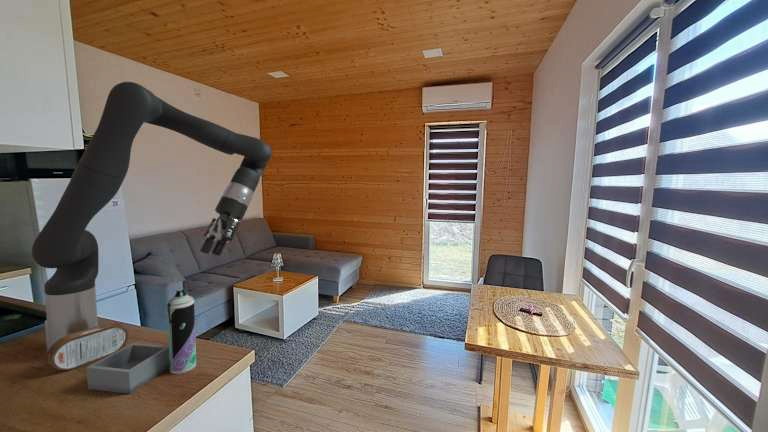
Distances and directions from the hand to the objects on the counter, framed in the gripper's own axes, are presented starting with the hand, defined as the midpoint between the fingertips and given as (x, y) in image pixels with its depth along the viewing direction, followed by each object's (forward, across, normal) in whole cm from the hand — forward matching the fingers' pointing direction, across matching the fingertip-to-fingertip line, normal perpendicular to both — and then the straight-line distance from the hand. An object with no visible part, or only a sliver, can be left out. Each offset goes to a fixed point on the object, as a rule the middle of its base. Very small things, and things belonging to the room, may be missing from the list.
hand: (209, 253), depth 80 cm
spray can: (+28, +1, +6) cm, 29 cm away
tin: (+33, -19, -8) cm, 39 cm away
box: (+32, -3, -2) cm, 32 cm away
